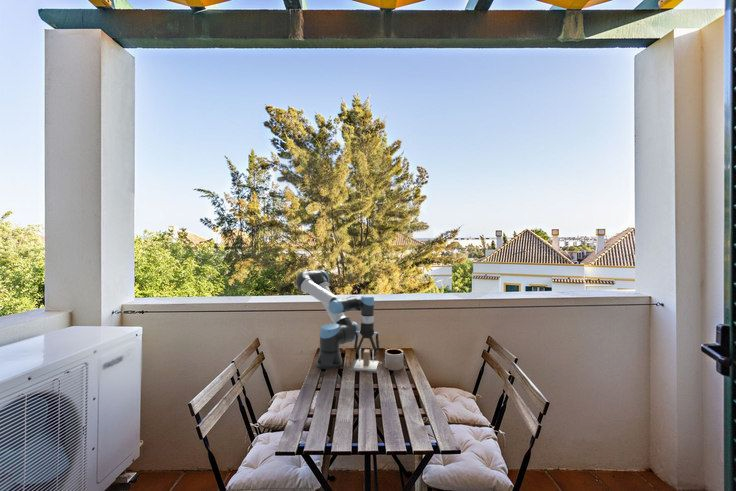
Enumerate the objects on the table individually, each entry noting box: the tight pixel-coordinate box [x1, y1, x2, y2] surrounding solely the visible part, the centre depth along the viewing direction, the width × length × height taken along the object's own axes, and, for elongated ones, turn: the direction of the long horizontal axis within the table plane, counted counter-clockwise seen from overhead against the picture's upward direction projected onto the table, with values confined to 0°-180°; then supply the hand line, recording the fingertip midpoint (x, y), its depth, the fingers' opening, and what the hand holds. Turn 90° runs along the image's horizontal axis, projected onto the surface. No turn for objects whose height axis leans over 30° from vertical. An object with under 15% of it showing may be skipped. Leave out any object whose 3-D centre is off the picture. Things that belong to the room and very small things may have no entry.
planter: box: [384, 348, 404, 371], centre depth 217 cm, size 11×11×10 cm
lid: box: [354, 348, 379, 371], centre depth 217 cm, size 13×13×9 cm
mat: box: [349, 359, 383, 374], centre depth 217 cm, size 17×17×1 cm
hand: (366, 360), depth 217 cm, fingers open, 7 cm apart
